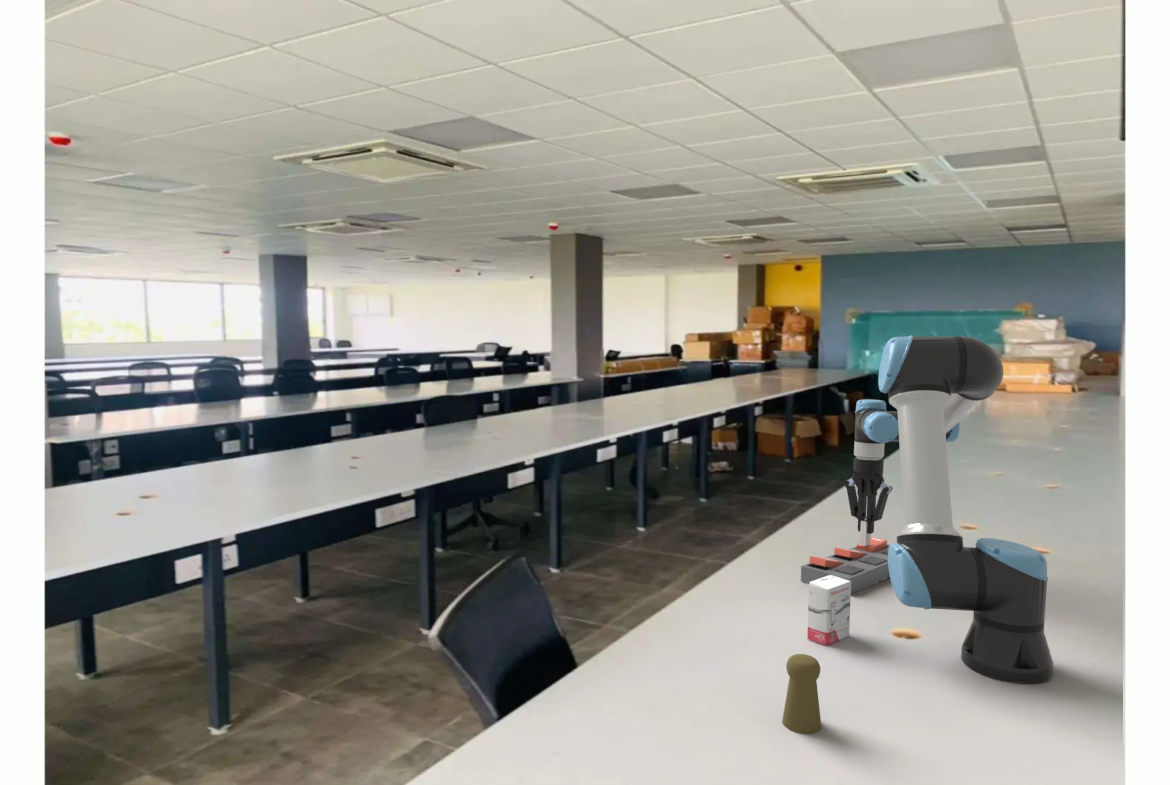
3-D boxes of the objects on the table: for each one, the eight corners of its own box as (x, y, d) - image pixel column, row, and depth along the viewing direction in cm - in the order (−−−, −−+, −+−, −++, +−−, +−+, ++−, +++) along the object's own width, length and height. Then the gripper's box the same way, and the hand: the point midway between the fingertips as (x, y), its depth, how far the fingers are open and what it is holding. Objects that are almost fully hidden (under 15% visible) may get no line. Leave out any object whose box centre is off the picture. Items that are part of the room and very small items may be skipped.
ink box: (826, 646, 152) (828, 588, 151) (805, 639, 156) (806, 582, 155) (850, 635, 158) (852, 579, 157) (829, 628, 161) (831, 573, 160)
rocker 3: (887, 545, 209) (887, 540, 208) (872, 554, 203) (872, 548, 203) (871, 542, 212) (871, 536, 212) (856, 550, 207) (856, 544, 206)
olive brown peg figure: (814, 714, 126) (816, 649, 125) (826, 733, 120) (829, 665, 119) (777, 714, 125) (779, 649, 124) (788, 734, 119) (790, 665, 118)
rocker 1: (841, 568, 193) (842, 561, 193) (824, 566, 188) (825, 559, 188) (825, 564, 197) (826, 557, 197) (809, 562, 191) (810, 555, 192)
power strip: (931, 559, 210) (932, 544, 210) (848, 595, 181) (848, 577, 181) (886, 549, 220) (887, 534, 219) (800, 581, 191) (801, 564, 191)
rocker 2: (864, 559, 201) (865, 553, 201) (849, 557, 196) (850, 550, 196) (849, 555, 204) (850, 549, 204) (833, 553, 199) (834, 547, 199)
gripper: (899, 459, 201) (895, 547, 203) (853, 453, 211) (849, 537, 213) (885, 462, 196) (881, 552, 198) (838, 455, 206) (835, 541, 208)
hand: (865, 544), depth 205 cm, fingers closed
